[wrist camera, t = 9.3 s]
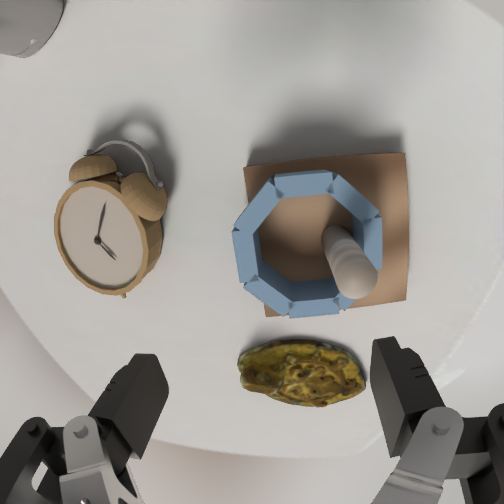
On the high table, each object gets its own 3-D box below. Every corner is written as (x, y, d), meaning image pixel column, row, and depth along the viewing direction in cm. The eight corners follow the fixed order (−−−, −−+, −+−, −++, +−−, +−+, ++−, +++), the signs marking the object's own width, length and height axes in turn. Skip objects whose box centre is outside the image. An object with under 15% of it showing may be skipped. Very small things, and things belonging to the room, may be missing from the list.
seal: (378, 344, 30) (245, 322, 30) (391, 366, 26) (241, 344, 26) (350, 406, 32) (231, 389, 33) (357, 431, 28) (225, 415, 28)
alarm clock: (50, 265, 27) (61, 128, 19) (76, 244, 31) (95, 120, 24) (133, 316, 27) (171, 174, 20) (154, 288, 31) (195, 160, 24)
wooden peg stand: (246, 166, 24) (222, 175, 15) (396, 152, 22) (456, 156, 13) (267, 306, 28) (258, 377, 19) (399, 290, 26) (440, 351, 17)
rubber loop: (232, 179, 23) (224, 183, 19) (365, 166, 21) (379, 169, 18) (251, 300, 26) (246, 321, 23) (369, 289, 25) (380, 308, 21)
